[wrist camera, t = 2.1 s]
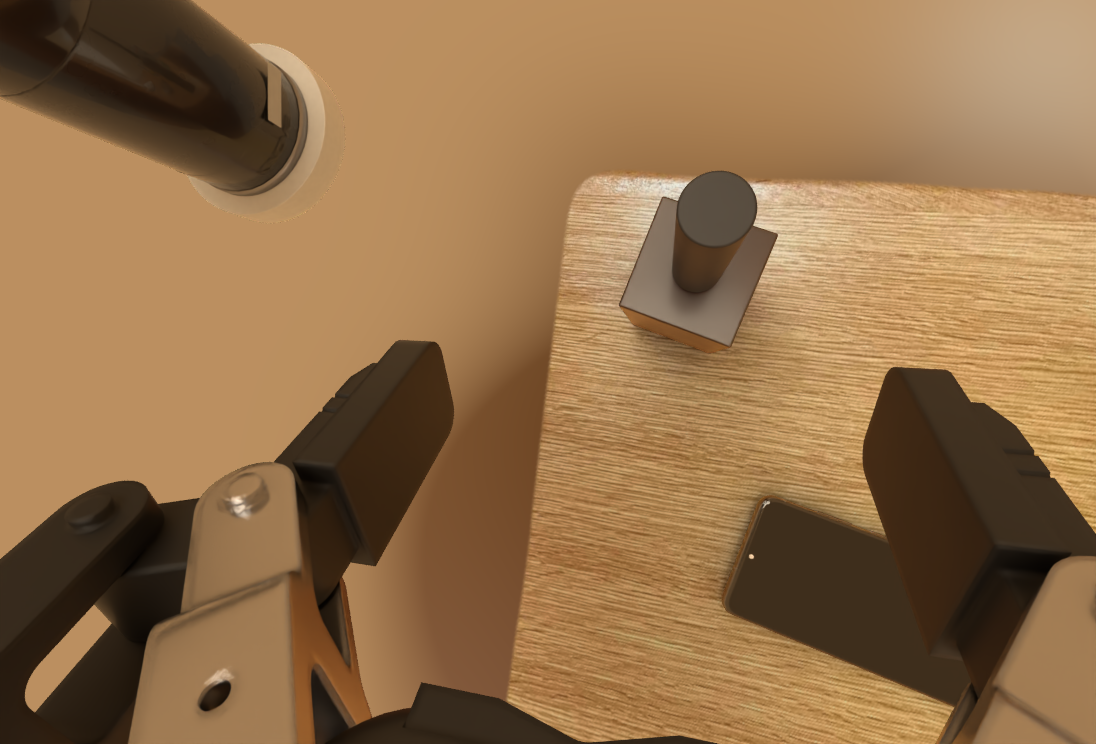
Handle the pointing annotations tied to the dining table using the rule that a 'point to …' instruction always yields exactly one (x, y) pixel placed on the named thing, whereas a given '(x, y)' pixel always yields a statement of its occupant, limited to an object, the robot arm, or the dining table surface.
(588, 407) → the dining table surface
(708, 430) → the dining table surface
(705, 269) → the stylus
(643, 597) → the dining table surface
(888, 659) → the smartphone
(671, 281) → the stand
